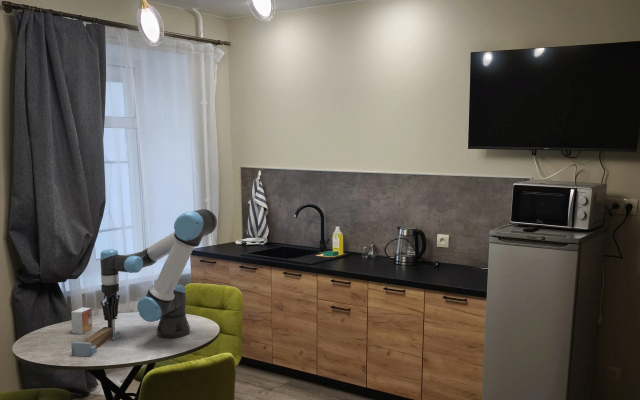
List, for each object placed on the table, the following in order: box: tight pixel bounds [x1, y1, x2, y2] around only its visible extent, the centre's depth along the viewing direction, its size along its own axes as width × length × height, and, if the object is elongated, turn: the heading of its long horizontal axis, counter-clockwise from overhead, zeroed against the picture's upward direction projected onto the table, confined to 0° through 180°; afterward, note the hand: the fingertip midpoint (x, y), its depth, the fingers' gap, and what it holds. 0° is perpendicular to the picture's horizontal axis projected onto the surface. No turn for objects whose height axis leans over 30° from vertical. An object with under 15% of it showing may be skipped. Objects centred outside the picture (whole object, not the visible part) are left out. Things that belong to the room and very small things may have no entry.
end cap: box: [70, 341, 97, 357], centre depth 236 cm, size 8×5×6 cm, turn 81°
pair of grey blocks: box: [112, 330, 120, 341], centre depth 256 cm, size 8×4×3 cm, turn 81°
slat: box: [80, 326, 113, 350], centre depth 247 cm, size 4×22×5 cm, turn 173°
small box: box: [71, 306, 93, 335], centre depth 266 cm, size 8×6×10 cm
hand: (111, 333), depth 258 cm, fingers closed
